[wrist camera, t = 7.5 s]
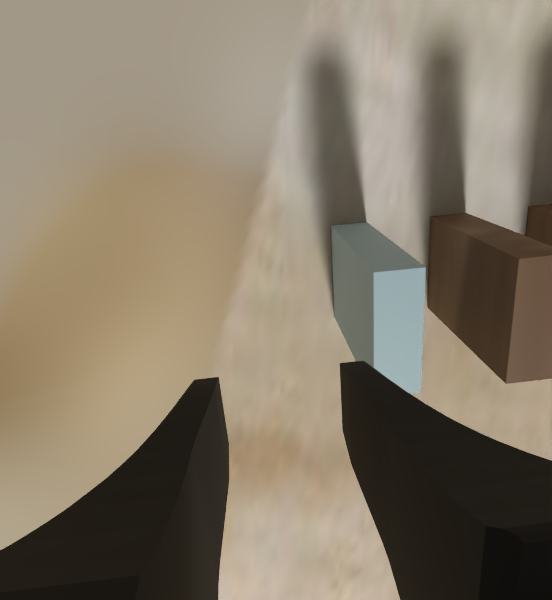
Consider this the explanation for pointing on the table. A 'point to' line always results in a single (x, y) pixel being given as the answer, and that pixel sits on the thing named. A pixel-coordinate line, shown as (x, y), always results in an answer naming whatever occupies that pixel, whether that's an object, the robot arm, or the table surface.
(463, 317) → the domino
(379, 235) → the teal domino
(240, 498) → the table surface
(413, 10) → the table surface
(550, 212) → the domino
